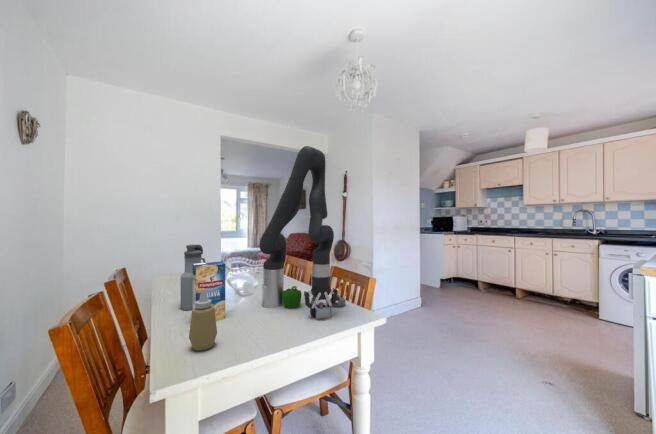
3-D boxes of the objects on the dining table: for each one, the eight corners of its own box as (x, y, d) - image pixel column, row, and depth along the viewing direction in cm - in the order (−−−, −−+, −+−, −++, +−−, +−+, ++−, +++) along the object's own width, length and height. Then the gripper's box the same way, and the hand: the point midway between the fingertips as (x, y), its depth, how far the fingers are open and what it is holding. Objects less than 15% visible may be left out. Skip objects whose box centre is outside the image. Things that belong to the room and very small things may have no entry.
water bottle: (189, 302, 126) (189, 243, 125) (209, 303, 125) (209, 243, 125) (175, 310, 115) (175, 246, 115) (196, 311, 115) (196, 246, 114)
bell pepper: (279, 306, 120) (279, 284, 120) (295, 303, 125) (295, 282, 125) (287, 312, 113) (288, 289, 113) (304, 308, 118) (304, 286, 118)
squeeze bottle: (195, 341, 87) (195, 286, 87) (220, 340, 88) (220, 286, 88) (184, 353, 79) (184, 293, 79) (212, 352, 80) (212, 293, 80)
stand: (314, 323, 102) (314, 308, 102) (307, 315, 110) (307, 301, 110) (335, 320, 105) (335, 305, 105) (327, 312, 114) (327, 298, 113)
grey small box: (316, 319, 104) (316, 309, 104) (311, 314, 109) (311, 304, 109) (330, 317, 106) (330, 307, 106) (324, 312, 112) (324, 302, 112)
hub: (331, 311, 115) (332, 292, 115) (323, 304, 124) (323, 287, 124) (352, 308, 119) (352, 290, 119) (342, 301, 128) (342, 284, 128)
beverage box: (192, 319, 106) (192, 264, 106) (220, 313, 112) (221, 261, 112) (195, 324, 100) (195, 266, 100) (225, 318, 107) (225, 263, 107)
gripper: (333, 271, 114) (333, 310, 114) (301, 273, 108) (301, 314, 108) (341, 275, 107) (340, 316, 107) (307, 278, 101) (306, 321, 101)
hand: (320, 315), depth 108 cm, fingers closed on grey small box, 6 cm apart
